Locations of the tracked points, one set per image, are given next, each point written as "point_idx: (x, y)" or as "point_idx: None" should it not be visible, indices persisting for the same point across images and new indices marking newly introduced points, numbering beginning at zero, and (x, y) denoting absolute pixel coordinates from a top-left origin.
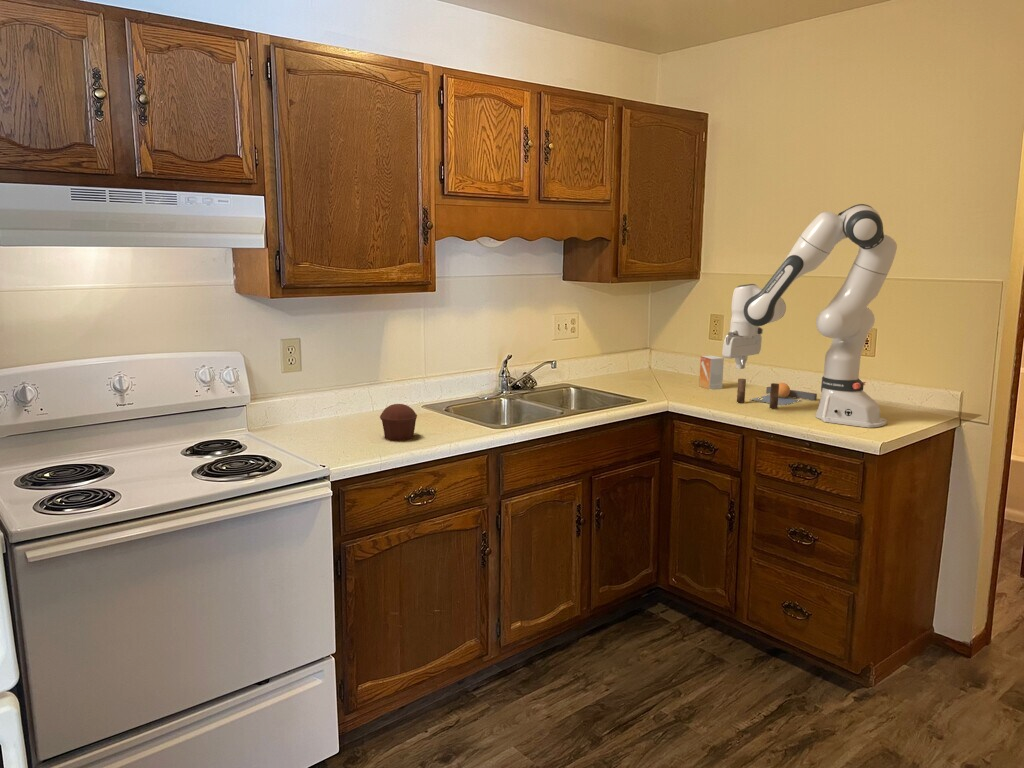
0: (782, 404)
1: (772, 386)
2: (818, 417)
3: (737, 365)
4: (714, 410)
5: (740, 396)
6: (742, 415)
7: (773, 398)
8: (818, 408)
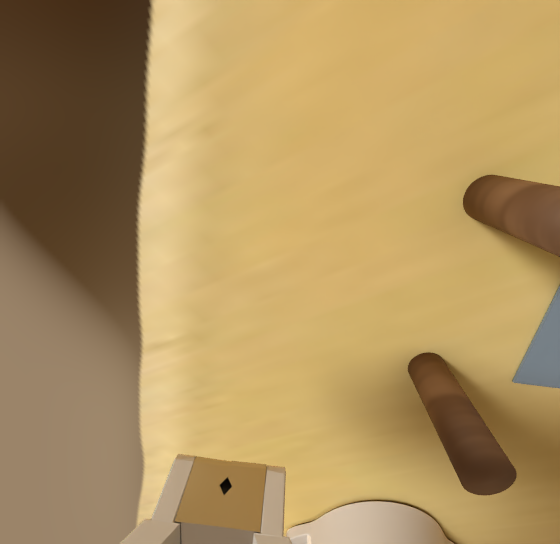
0: (530, 374)
1: (457, 458)
2: (325, 517)
3: (160, 506)
4: (179, 180)
5: (485, 212)
6: (182, 325)
7: (425, 407)
8: (355, 542)
